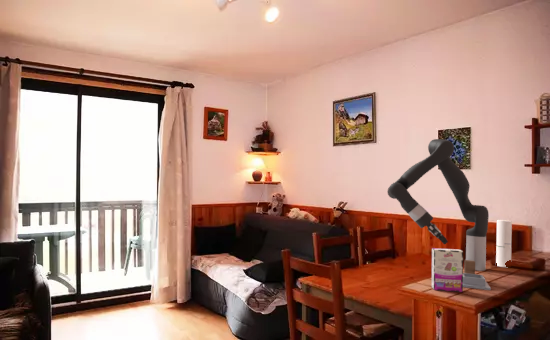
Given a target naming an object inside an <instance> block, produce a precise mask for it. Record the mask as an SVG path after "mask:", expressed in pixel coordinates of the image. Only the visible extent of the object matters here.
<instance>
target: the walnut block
mask: <svg viewBox="0 0 550 340" xmlns="http://www.w3.org/2000/svg"><path fill="white" fill-rule="evenodd" d="M463 273H469V274H476V270H475V261H471V260H466V259H464V260H463Z"/></svg>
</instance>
